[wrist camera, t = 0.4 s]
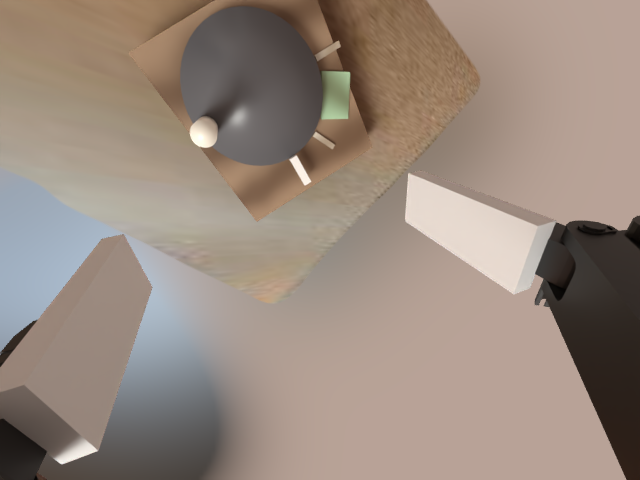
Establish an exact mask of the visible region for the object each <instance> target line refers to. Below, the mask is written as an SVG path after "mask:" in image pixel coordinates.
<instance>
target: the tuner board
mask: <svg viewBox="0 0 640 480" xmlns="http://www.w3.org/2000/svg"><path fill="white" fill-rule="evenodd" d="M237 6H249V7H256V8H260V9H264V10H266V11H269V12H271V13H273V14H275V15H277V16H279V17H281V18H282V19H284V20H285V21H286V22H288V23H289V24H290V25H291V26H292V27H293V28H294V29H295V30H296V31H297V32H298V33H299V34H300V35H301V36H302V38H303V39H304V40H305V41H306V43H307V45H308V46H309V48H310V49H311V51H312V53H313V55H314V57H315V59H316V62H317V65H318V68H319V71H320V75H321V80H322V88H323V102H322V110H321V115H320V119H319V122H318V125H317V127H316V129H315V131H314V133H313V135H312V137H311V138H310V140H309V141H308V142H307V144H306V145H305V146H304V147H303V148H302V149H301V150H300V151H299V152H298V153H296V154H295V155H297V157H298V159H299V160H300V162H301V164H302V166H303V168H304V170H305V171H306V173H307V175H308V177H309V179H310V180H311V182H310V183H309V184H307V185H304V184H303V182H302V181H301V179H300V177H299V175H298V174H297V172H296V170H295V168H294V167H293V165H292V163H291V162H290V160H289V159H287V160H285V161H282V162H280V163H276V164H272V165H265V166H254V165H247V164H243V163H240V162H237V161H234V160H232V159H230V158H228V157H226V156H224V155H223V154H221V153H219V152H218V151H217V150H216V149H214V148H213V147H212V146H211V147H208V148H204V147H200V148H201V149H202V150H203V152H204V153H205V154H206V156H207V157H208V158H209V160H210V161H211V162H212V163H213V165H214V166H215V167H216V169H217V170H218V171H219V173H220V174H221V175H222V177H223V178H224V179H225V180H226V182H227V183H228V184H229V186H230V187H231V188H232V190H233V191H234V192H235V194H236V195H237V196H238V198H239V199H240V200H241V201H242V203H243V204H244V205H245V207H246V208H247V209H248V211H249V212H250V213H251V215H252V216H253V217H254V219H255V220H256V221H259V220H260V219H262V218H263V217H265V216H266V215H268V214H270V213H271V212H273V211H274V210H276V209H277V208H279V207H280V206H282V205H284V204H285V203H287V202H288V201H290V200H291V199H293V198H294V197H296V196H298V195H299V194H301V193H302V192H304V191H305V190H307V189H308V188H310V187H312V186H313V185H315V184H316V183H318V182H319V181H321V180H323V179H324V178H326V177H327V176H329V175H330V174H332V173H333V172H335V171H337V170H338V169H340V168H341V167H343V166H344V165H346V164H347V163H349V162H351V161H352V160H354V159H355V158H357V157H358V156H360V155H361V154H363V153H365V152H366V151H368V150H369V149H371V148H372V145H371V142H370V139H369V137H368V134H367V131H366V129H365V126H364V123H363V121H362V118H361V115H360V113H359V110H358V107H357V105H356V102H355V99H354V97H353V94H352V91H351V89H350V72H344V70H343V67H342V65H341V62H340V59H339V56H338V54H337V51H336V49H338V48H339V47H341V46H340V43H339V40H338V41H337V42H335V43H333V40H332V38H331V35H330V32H329V30H328V27H327V24H326V22H325V19H324V16H323V14H322V11H321V8H320V6H319V3H318V0H214V1H212V2H211V3H209V4H207V5H206V6H204V7H202V8H201V9H199V10H198V11H196V12H194V13H193V14H191V15H189V16H188V17H186V18H184V19H183V20H181V21H180V22H178V23H176V24H175V25H173V26H171V27H170V28H168V29H166V30H165V31H163V32H161V33H160V34H158V35H157V36H155V37H153V38H152V39H150V40H148V41H147V42H145V43H143V44H142V45H140V46H138V47H137V48H135V49H134V50H132V51H130V52H129V55H130V56H131V57H132V59H133V60H134V61H135V62H136V64H137V65H138V66H139V68H140V69H141V70H142V72H143V73H144V74H145V76H146V77H147V78H148V80H149V81H150V82H151V83H152V85H153V86H154V87H155V89H156V90H157V91H158V93H159V94H160V95H161V97H162V98H163V99H164V100H165V102H166V103H167V104H168V106H169V107H170V108H171V110H172V111H173V112H174V114H175V115H176V116H177V118H178V119H179V120H180V121H181V123H182V124H183V125H184V127H185V128H186V129H187V131H188V132H189V133H190V128H191V126H192V125H193V123H192V121H191V119H190V117H189V115H188V113H187V110H186V107H185V104H184V101H183V97H182V92H181V84H180V68H181V61H182V56H183V53H184V50H185V47H186V45H187V43H188V40H189V38H190V37H191V35H192V34H193V32H194V31H195V29H196V28H197V27H198V26H199V25H200V24H201V23H202V22H203V21H204V20H205V19H207V18H208V17H209V16H211V15H212V14H214V13H216V12H218V11H220V10H223V9H226V8H230V7H237ZM290 158H291V157H290Z"/></svg>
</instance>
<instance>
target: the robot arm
mask: <svg viewBox="0 0 640 480" xmlns="http://www.w3.org/2000/svg"><path fill="white" fill-rule="evenodd" d="M405 221H406V222H407V223H409V224H410V225H412V226H413V227H415V228H416V229H418V230H419V231H420V232H422V233H424V234H425V235H426V236H428V237H429V238H431V239H433V240H434V241H436V242H437V243H439V244H440V245H441V246H443V247H444V248H446V249H447V250H449V251H450V252H452V253H453V254H455V255H456V256H458V257H459V258H461V259H462V260H464V261H465V262H467V263H468V264H470V265H471V266H473V267H474V268H476V269H477V270H479V271H480V272H481V273H483V274H484V275H486V276H487V277H489V278H490V279H492V280H493V281H495V282H496V283H498V284H499V285H501V286H502V287H504V288H505V289H507V290H508V291H510V292H511V293H513V294H516V293H518V292H521V291H524V290H526V289H529V288H530V287H531V284H532V282H533V279H534V277H535V274H536V275H538V276H540V277H542V278H544V279H543V282H542V284H541V287H540V289H539V292H538V294H537V296H536V299H535V305H539V303H540V301H541V299H546V302H545V304H544V306H546V307H550V309H551V311H552V313H553V315H554V318H555V320H556V322H557V325H558V327H559V329H560V331H561V334H562V336H563V338H564V340H565V343H566V345H567V347H568V349H569V352H570V354H571V356H572V358H573V361H574V363H575V365H576V367H577V370H578V372H579V374H580V376H581V379H582V381H583V383H584V385H585V388H586V390H587V392H588V394H589V397H590V399H591V401H592V403H593V406H594V408H595V410H596V412H597V415H598V417H599V419H600V421H601V423H602V426H603V428H604V430H605V432H606V435H607V437H608V439H609V441H610V443H611V446H612V448H613V450H614V453H615V455H616V457H617V459H618V462H619V464H620V466H621V468H622V471H623V473H624V475H625V477H626V479H627V480H640V216H637V217H635V218H633V220H632V222H631V224H630V225H629V227H628V229H627V230H622V231H618V230H617V229H615V228H614V227H612V226H608V225H605V224H601V223H599V222H591V221H572V222H569V223H568V224H567V225H566V226H564V225H562V224H559V223H556V220H553V219H550V218H548V217H545V216H543V215H540V214H537V213H535V212H532V211H529V210H526V209H523V208H521V207H518V206H516V205H513V204H510V203H508V202H505V201H502V200H500V199H497V198H494V197H491V196H489V195H486V194H483V193H481V192H478V191H475V190H473V189H470V188H467V187H465V186H462V185H459V184H456V183H454V182H451V181H448V180H446V179H443V178H440V177H438V176H435V175H432V174H429V173H427V172H424V171H422V170H421V171H416V172H411V173H409V174H408V187H407V201H406V215H405ZM151 290H152V286H151V284H150V282H149V280H148V278H147V276H146V275H145V273H144V271H143V269H142V267H141V265H140V263H139V262H138V260H137V258H136V256H135V254H134V252H133V251H132V249H131V247H130V245H129V243H128V242H127V239H126V238H125V236H124V235H123V234H122V235H118V236H113V237H108V238H104V239H101V241H100V242H99V243H98V245H97V246H96V247H95V248H94V250H93V251H92V252H91V253H90V255H89V256H88V257H87V259H86V260H85V261H84V262H83V264H82V265H81V266H80V267H79V269H78V270H77V271H76V272H75V274H74V275H73V276H72V277H71V279H70V280H69V281H68V283H67V284H66V285H65V286H64V287H63V289H62V290H61V291H60V293H59V294H58V295H57V296H56V298H55V299H54V300H53V302H52V303H51V304H50V305H49V307H48V308H47V309H46V310H45V311H44V313H43V314H42V315H41V317H40V318H39V319H38V320H36V321H33V322H32V323H30V324H29V325H28V326H27V327H26V328H24V329H23V330H21V331H20V332H19V333H18V334H16V335H15V336H14V337H13V338H12V339H11V340H10V342H9V343H8V344H7V345H6V347H5V348H4V349H3V350H2V351H1V352H0V353H1V355H0V480H47V479H46V478H45V477H43V476H42V475H40V474H39V473H37V471H38V470H39V467H40V465H41V463H42V461H43V459H44V457H45V455H46V453H47V454H48V455H50V456H51V457H52V458H54V459H55V460H56V461H58V462H59V463H60V464H64V463H66V462H69V461H72V460H74V459H77V458H80V457H83V456H85V455H88V454H91V453H93V452H96V451H98V450H99V447H100V444H101V441H102V437H103V435H104V432H105V429H106V425H107V423H108V420H109V417H110V414H111V411H112V408H113V405H114V401H115V398H116V396H117V393H118V389H119V387H120V384H121V380H122V377H123V374H124V371H125V368H126V365H127V362H128V359H129V356H130V353H131V350H132V347H133V344H134V341H135V338H136V335H137V332H138V329H139V326H140V323H141V320H142V317H143V314H144V311H145V308H146V305H147V302H148V299H149V296H150V293H151Z"/></svg>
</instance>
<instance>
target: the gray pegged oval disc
mask: <svg viewBox="0 0 640 480" xmlns="http://www.w3.org/2000/svg"><path fill="white" fill-rule="evenodd" d="M180 84H181V92H182V97H183V101H184V104H185V107H186V110H187V113H188V115H189V117H190V119H191V121H192V123H193V125H192V126H191V128H190V136H191V139H192V140H193V142H194V143H195V144H196V145H198V146H200V147H204V148H208V147H211V146H212V147H213V148H214V149H216V150H217V151H218V152H219V153H221V154H223V155H224V156H226V157H228V158H230V159H232V160H234V161H237V162H240V163H243V164H247V165H254V166H265V165H272V164H276V163H280V162H282V161H285V160H287V159H289V160H290V162H291V163H292V165H293V167H294V168H295V170H296V172H297V174H298V175H299V177H300V179H301V181H302V182H303V184H304V185H307V184H309V183H310V182H311V180H310V179H309V177H308V175H307V173H306V171H305V170H304V168H303V166H302V164H301V162H300V160H299V159H298V157H297V155H295V154H296V153H298V152H299V151H300V150H301V149H302V148H303V147H304V146H305V145H306V144H307V142H308V141H309V140H310V138H311V137H312V135H313V133H314V131H315V129H316V127H317V125H318V122H319V119H320V115H321V110H322V102H323V88H322V80H321V75H320V71H319V68H318V65H317V62H316V59H315V57H314V55H313V53H312V51H311V49H310V48H309V46H308V45H307V43H306V41H305V40H304V39H303V38H302V36H301V35H300V34H299V33H298V32H297V31H296V30H295V29H294V28H293V27H292V26H291V25H290V24H289V23H288V22H286V21H285V20H284V19H282V18H281V17H279V16H277V15H275V14H273V13H271V12H269V11H266V10H264V9H260V8H256V7H249V6H237V7H230V8H226V9H223V10H220V11H218V12H216V13H214V14H212V15H211V16H209V17H208V18H207V19H205V20H204V21H203V22H202V23H201V24H200V25H199V26H198V27H197V28H196V29H195V31H194V32H193V34H192V35H191V37H190V38H189V40H188V43H187V45H186V47H185V50H184V53H183V56H182V61H181V68H180ZM290 157H291V158H290Z"/></svg>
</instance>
